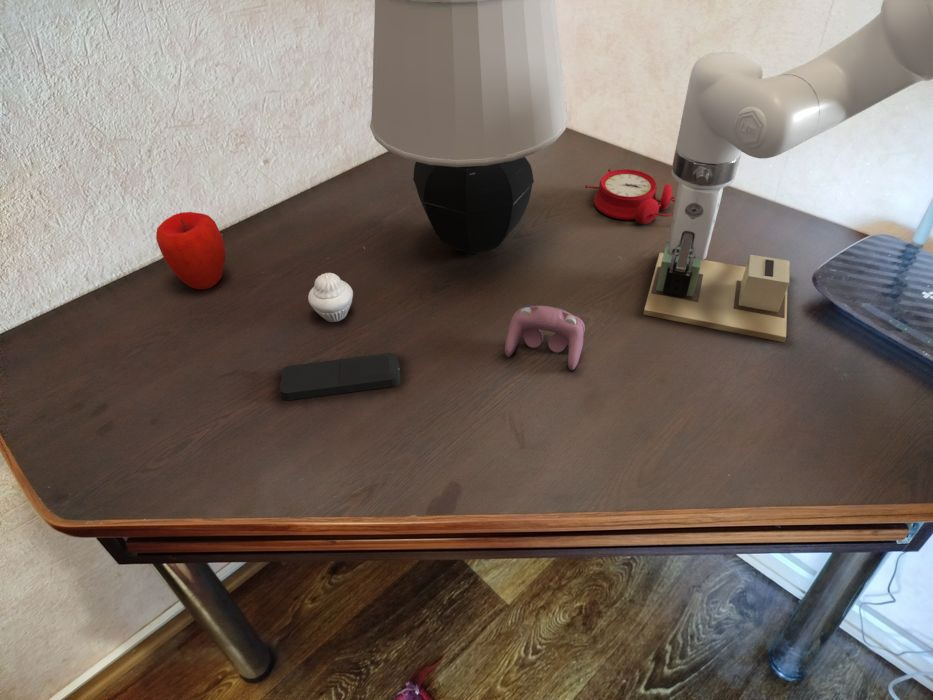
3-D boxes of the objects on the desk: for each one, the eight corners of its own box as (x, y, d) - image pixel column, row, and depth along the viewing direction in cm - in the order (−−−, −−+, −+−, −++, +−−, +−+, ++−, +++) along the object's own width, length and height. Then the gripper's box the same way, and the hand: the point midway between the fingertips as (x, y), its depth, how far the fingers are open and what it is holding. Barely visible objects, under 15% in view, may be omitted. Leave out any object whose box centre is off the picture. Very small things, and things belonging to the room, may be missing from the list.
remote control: (281, 404, 79) (401, 385, 80) (277, 394, 78) (399, 375, 79) (284, 376, 83) (399, 358, 83) (280, 366, 82) (396, 348, 82)
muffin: (354, 328, 88) (345, 288, 83) (310, 330, 88) (299, 290, 84) (359, 299, 93) (351, 260, 88) (317, 301, 93) (306, 262, 88)
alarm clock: (611, 161, 111) (693, 168, 102) (614, 195, 115) (693, 204, 105) (577, 186, 106) (660, 195, 96) (581, 220, 110) (662, 233, 100)
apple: (248, 272, 99) (226, 212, 91) (207, 305, 93) (180, 243, 86) (206, 258, 102) (182, 198, 95) (164, 289, 97) (135, 228, 89)
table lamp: (357, 241, 104) (303, -41, 76) (485, 184, 115) (478, -79, 87) (459, 324, 88) (438, 7, 60) (596, 248, 99) (630, -48, 72)
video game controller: (581, 362, 84) (590, 311, 81) (576, 373, 80) (585, 319, 77) (509, 347, 86) (516, 297, 84) (500, 357, 82) (507, 305, 80)
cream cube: (778, 290, 88) (790, 260, 85) (777, 312, 85) (789, 282, 82) (740, 283, 90) (750, 253, 86) (738, 305, 87) (748, 275, 83)
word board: (785, 279, 92) (788, 273, 91) (783, 342, 83) (786, 336, 82) (658, 257, 97) (659, 251, 96) (643, 315, 88) (644, 308, 87)
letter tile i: (696, 275, 92) (704, 246, 88) (692, 296, 88) (700, 267, 85) (661, 269, 93) (667, 240, 89) (656, 290, 90) (661, 260, 86)
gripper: (732, 203, 71) (697, 325, 84) (742, 136, 82) (710, 252, 95) (663, 193, 73) (640, 313, 86) (682, 129, 84) (659, 244, 97)
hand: (677, 280), depth 90 cm, fingers closed on letter tile i, 4 cm apart
